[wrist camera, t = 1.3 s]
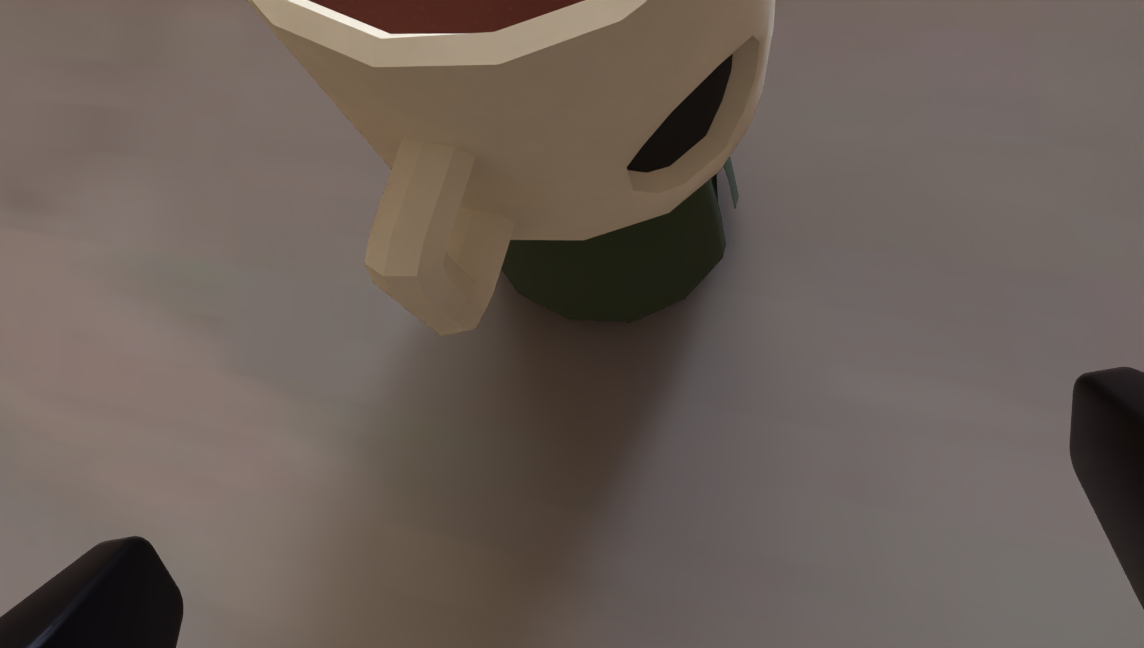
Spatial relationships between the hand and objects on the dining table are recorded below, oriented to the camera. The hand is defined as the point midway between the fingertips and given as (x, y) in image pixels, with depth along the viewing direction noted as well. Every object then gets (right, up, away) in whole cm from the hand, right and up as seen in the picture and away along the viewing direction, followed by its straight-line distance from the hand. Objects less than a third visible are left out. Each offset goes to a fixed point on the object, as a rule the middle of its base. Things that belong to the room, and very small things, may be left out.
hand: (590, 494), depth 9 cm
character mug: (+1, +5, +14) cm, 15 cm away
